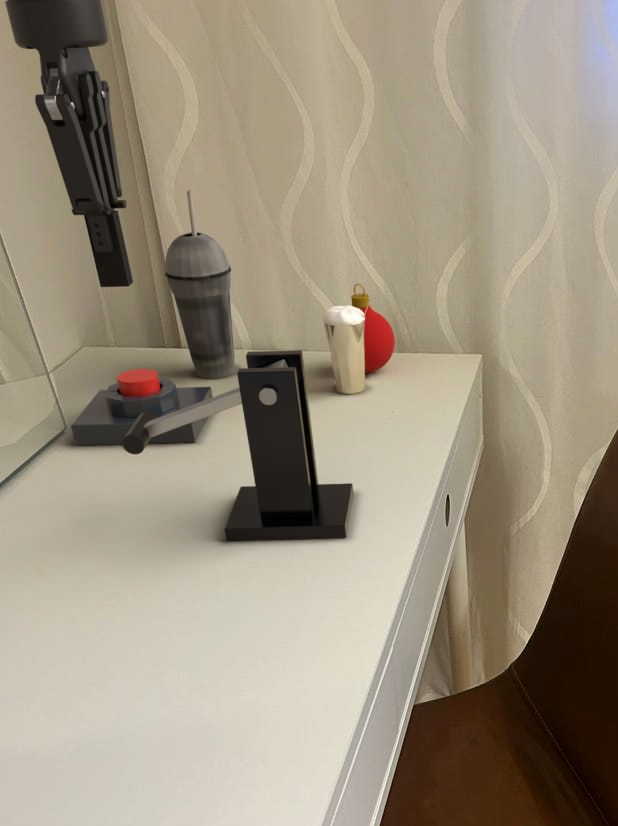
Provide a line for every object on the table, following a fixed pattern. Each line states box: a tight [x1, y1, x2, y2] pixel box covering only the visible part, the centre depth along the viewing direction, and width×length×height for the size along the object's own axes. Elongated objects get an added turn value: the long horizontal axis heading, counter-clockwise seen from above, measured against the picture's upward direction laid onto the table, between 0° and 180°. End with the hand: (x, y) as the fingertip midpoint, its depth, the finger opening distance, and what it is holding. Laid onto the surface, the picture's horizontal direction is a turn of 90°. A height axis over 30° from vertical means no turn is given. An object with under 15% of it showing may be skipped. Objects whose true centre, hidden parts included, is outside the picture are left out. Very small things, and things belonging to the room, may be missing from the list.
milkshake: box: [322, 298, 371, 395], centre depth 107 cm, size 4×5×10 cm
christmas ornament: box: [350, 283, 396, 374], centre depth 112 cm, size 7×7×10 cm
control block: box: [70, 376, 214, 447], centre depth 101 cm, size 12×10×4 cm
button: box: [116, 368, 161, 397], centre depth 99 cm, size 4×4×2 cm
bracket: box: [223, 349, 355, 542], centre depth 80 cm, size 10×8×14 cm
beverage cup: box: [164, 190, 236, 380], centre depth 109 cm, size 7×7×20 cm
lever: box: [121, 359, 288, 455], centre depth 78 cm, size 14×5×2 cm, turn 92°
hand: (116, 284), depth 94 cm, fingers closed
